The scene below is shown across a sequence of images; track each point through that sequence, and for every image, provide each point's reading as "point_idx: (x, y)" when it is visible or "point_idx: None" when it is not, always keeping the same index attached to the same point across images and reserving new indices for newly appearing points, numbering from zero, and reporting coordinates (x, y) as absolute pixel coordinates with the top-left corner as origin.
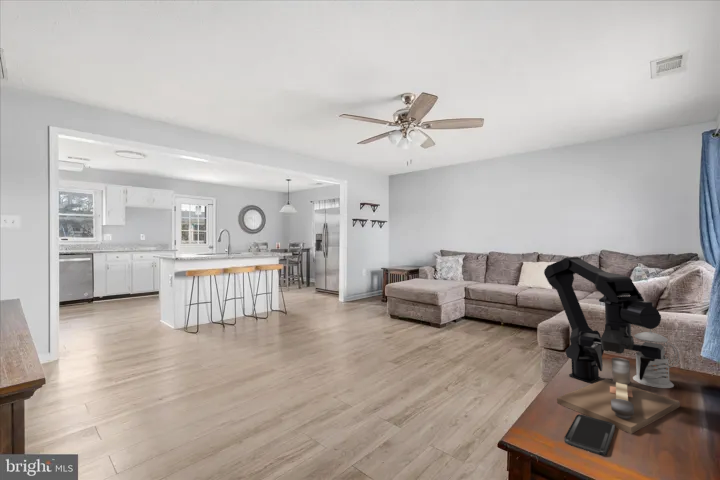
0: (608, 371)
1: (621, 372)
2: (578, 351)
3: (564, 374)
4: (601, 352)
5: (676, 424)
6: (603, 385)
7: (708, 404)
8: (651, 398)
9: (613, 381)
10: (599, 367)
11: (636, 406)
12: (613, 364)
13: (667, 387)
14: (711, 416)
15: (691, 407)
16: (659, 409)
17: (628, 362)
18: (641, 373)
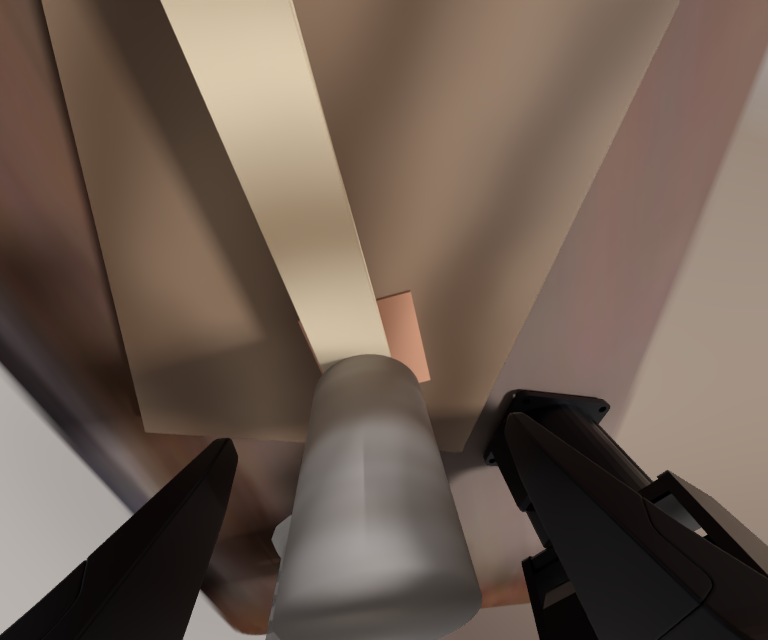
0: (466, 523)
1: (347, 430)
2: (765, 569)
3: (621, 404)
4: (558, 635)
5: (20, 174)
6: (459, 371)
7: (127, 492)
8: (233, 375)
9: None
10: (540, 432)
11: (220, 181)
12: (437, 501)
13: (279, 526)
14: (40, 405)
15: (137, 434)
16: (119, 250)
17: (274, 614)
18: (170, 495)
